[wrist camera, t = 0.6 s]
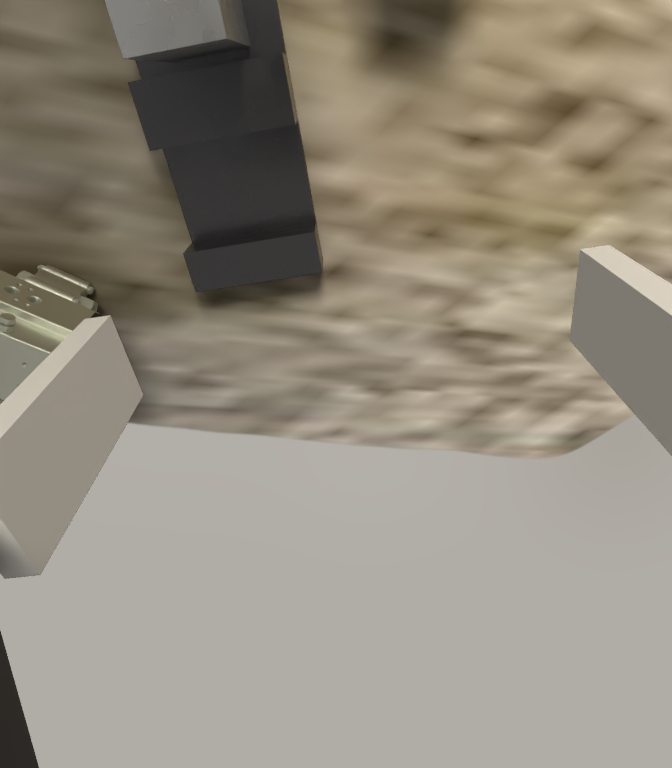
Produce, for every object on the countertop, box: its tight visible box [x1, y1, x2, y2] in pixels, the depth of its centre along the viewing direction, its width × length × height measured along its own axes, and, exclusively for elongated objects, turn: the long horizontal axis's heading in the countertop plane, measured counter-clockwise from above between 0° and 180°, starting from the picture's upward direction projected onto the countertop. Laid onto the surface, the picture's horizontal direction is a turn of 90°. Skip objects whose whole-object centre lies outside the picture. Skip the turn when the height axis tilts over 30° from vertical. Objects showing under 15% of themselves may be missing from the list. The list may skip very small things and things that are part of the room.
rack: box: [128, 0, 323, 292], centre depth 31 cm, size 22×9×3 cm, turn 9°
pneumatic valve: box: [0, 264, 105, 400], centre depth 33 cm, size 6×12×12 cm, turn 62°
